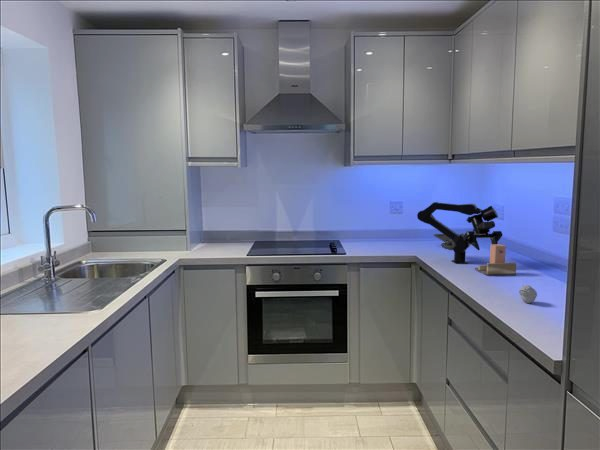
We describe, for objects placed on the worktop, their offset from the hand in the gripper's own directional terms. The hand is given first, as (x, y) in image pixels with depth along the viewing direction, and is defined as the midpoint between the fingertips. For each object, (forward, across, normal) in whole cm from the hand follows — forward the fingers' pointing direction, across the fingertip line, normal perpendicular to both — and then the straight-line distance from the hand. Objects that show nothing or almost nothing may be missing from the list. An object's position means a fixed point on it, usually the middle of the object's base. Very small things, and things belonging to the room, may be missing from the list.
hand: (487, 249), depth 229 cm
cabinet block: (+12, +1, 0) cm, 13 cm away
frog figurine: (+46, -12, -32) cm, 58 cm away
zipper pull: (-39, +7, +54) cm, 66 cm away
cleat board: (+12, +1, +3) cm, 12 cm away
